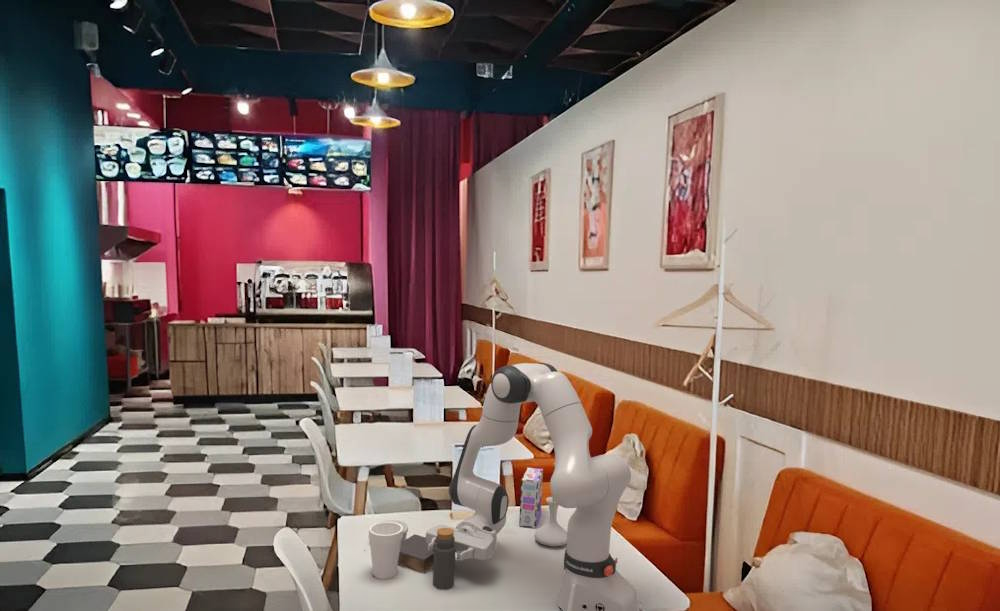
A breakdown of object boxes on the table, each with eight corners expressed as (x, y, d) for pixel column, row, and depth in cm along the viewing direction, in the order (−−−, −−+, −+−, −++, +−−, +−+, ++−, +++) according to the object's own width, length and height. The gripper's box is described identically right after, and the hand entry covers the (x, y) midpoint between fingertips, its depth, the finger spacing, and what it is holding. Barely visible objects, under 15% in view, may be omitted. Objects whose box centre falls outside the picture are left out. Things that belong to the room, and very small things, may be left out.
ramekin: (374, 535, 204) (374, 519, 203) (409, 535, 204) (409, 519, 204) (368, 551, 193) (369, 534, 192) (405, 551, 193) (406, 535, 193)
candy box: (535, 529, 214) (538, 481, 212) (518, 526, 215) (520, 479, 214) (541, 513, 227) (543, 468, 226) (525, 511, 228) (527, 466, 227)
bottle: (428, 585, 173) (430, 532, 172) (440, 576, 179) (442, 524, 178) (446, 591, 171) (448, 537, 170) (458, 582, 176) (460, 529, 175)
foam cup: (368, 583, 174) (370, 536, 173) (366, 567, 182) (367, 523, 182) (403, 579, 176) (405, 534, 175) (399, 564, 185) (401, 520, 184)
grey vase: (568, 551, 198) (572, 472, 196) (532, 547, 199) (535, 469, 198) (570, 534, 211) (574, 460, 209) (536, 530, 212) (539, 457, 211)
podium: (446, 556, 191) (447, 543, 191) (423, 573, 180) (424, 559, 180) (414, 546, 196) (414, 534, 196) (389, 562, 186) (390, 548, 186)
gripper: (441, 516, 191) (413, 532, 179) (501, 532, 181) (476, 550, 169) (440, 536, 191) (413, 554, 179) (500, 553, 182) (475, 573, 169)
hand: (444, 552), depth 174 cm, fingers open, 8 cm apart
